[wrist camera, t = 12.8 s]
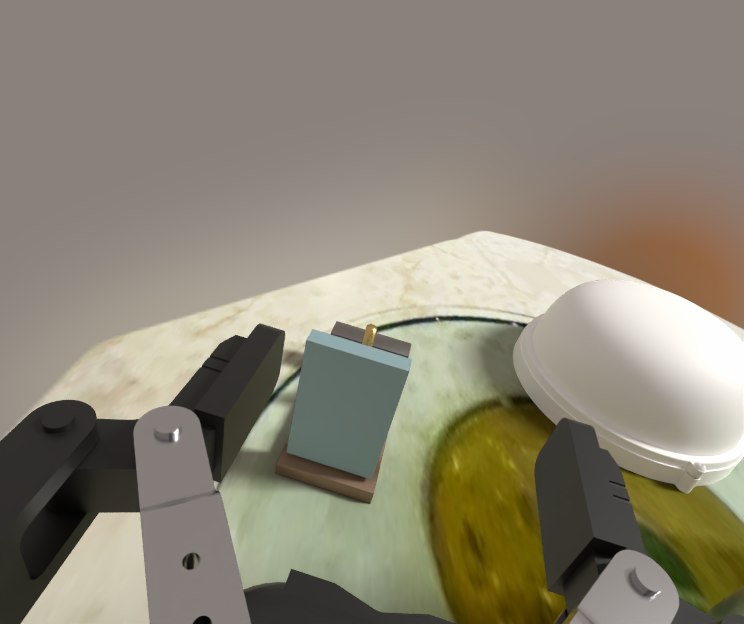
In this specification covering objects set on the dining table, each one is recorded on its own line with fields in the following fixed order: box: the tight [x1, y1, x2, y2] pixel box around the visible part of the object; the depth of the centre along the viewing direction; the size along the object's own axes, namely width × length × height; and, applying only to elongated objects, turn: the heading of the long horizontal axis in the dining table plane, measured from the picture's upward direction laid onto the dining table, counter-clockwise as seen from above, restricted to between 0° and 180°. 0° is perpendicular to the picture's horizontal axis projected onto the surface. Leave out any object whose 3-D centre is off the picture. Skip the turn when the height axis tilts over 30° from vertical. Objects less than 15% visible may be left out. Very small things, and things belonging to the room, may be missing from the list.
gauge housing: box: [275, 321, 411, 503], centre depth 48 cm, size 18×9×6 cm, turn 168°
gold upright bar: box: [362, 324, 377, 347], centre depth 47 cm, size 2×3×8 cm, turn 78°
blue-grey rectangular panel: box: [287, 329, 412, 480], centre depth 40 cm, size 4×8×13 cm, turn 78°
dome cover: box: [513, 279, 744, 493], centre depth 61 cm, size 32×30×14 cm
